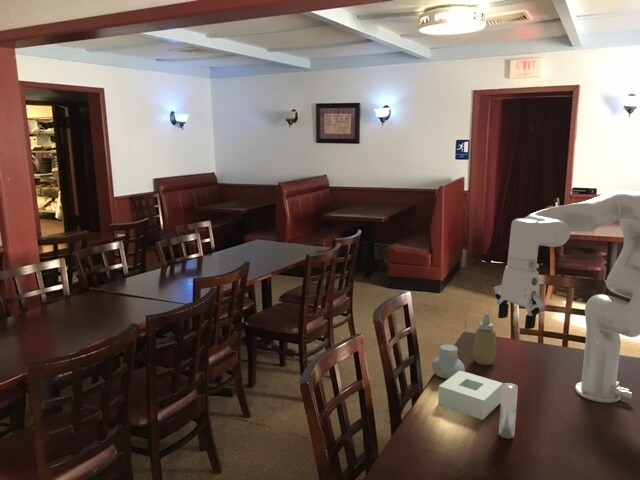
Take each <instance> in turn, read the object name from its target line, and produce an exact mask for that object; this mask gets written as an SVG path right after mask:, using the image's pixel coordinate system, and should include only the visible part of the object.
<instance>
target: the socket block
mask: <svg viewBox="0 0 640 480" xmlns="http://www.w3.org/2000/svg"><path fill="white" fill-rule="evenodd" d="M502 384H504V383H503V382H501V381H497V380H494V379H490V378H488V377H484V376H480V375H477V374H474V373H471V372H466V371H458V372H457V373H456V374H454V375H453V376H452V377H450V378H449V379H445V381H443V382H442V383H440V384H439V386H438V400H437V401H438V402H437V405H438V406H442V407H444V408H447V409H450V410H454V411H456V412H459V413H461V414H464V415H467V416H470V417H473V418H476V419H477V420H478V419H479V420H481V421H483V420H484V419H486V417H487V416H489V415H490V414H491V413H492V412H493V411H494V410H495V409H496V408H497V407H498V406H499V405H501V393H502Z"/></svg>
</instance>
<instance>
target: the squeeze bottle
mask: <svg viewBox="0 0 640 480" xmlns="http://www.w3.org/2000/svg"><path fill="white" fill-rule="evenodd" d="M496 336H497V335H496V330H495V329H494V324H493V323H492V322H491V320H490V314H489V313H487V312H485V313H484V316H483V320H482V321H481V322H479V325H478V328H476V330H475V336H474V341H473V346H472V347H473V348H472V354H473V358H474V361H475V363H477V364H479V365H482V366H491V365H492V364H493V363H494V361H495V358H496V356H497V339H496V338H497V337H496Z"/></svg>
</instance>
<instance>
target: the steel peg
mask: <svg viewBox="0 0 640 480" xmlns="http://www.w3.org/2000/svg"><path fill="white" fill-rule="evenodd" d="M518 392H519V387H518V385H517V384H514V383H511V382H504V383H503V384H502V393H501V403H500V412H499V424H498V425H499V426H498V435H499V436H500V437H501V438H504V439H514V437H515V432H516V431H515V430H516V419H517V405H518V404H517V403H518Z"/></svg>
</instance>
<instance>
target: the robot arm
mask: <svg viewBox="0 0 640 480" xmlns="http://www.w3.org/2000/svg"><path fill="white" fill-rule="evenodd" d="M618 221H619V225H620V229H621V231H622V236H623V246H622V249H621V250H620V251H621V252H620V253H619V255H618V256H617V259H616V261H615V262H614V264H613V267H612V268H611V270H610V271H609V274H608V275H607V277H606V281H605V284H606V288H607V289H608V291H610V292H612V293H613V294H615V295H616V294H617V295H619V296H621V297H624V298H627V299H629V302H628V301H627V300H624V299H621V298H618V297H615V296H611V295H608V294H600V293H599V294H595V295H592V296H591V297H590V298H589V299H588V300H587V302H586V303H585V307H584V316H585V323H586V330H585V331H586V332H585V334H586V335H585V344H584V354H583V361H582V362H583V363H582V364H583V365H582V372H581V373H582V374H581V381H580V382H578V383H576V384H575V388H574V389H575V392H576V394H578V395H580V396H581V397H583V398H584V399H587V400H590V401H593V402H598V403H605V404H612V403H613V404H614V403H616V402H618V401H620V400H621V398H622V397H624V398H626V399H630V400H631V399H632V394H633V393H632V392H631V391H630V389H629V388H626V387H621V386H620V385H619V384H620V381H617V380H618V371H619V370H618V369H619V362H620V353H621V344H622V341H621V335H622V336H625V337H628V338H636V337H639V336H640V191H633V190H626V189H615V190H612V191H609V192H606V193H603V194H600V195H597V196H595V197H592V198H590V199H588V200H585V201H580V202H576V203H575V202H574V203H569V204H564V205H558V206H557V205H556V206H552V207H548V208H544V209H541V210H538V211H536V212H533V213H530V214H528V215H527V216H525V217H523V218H515V219H513V220H512V222H511V224H510V225H511V226H510V233H509V235H510V236H509V246H508V255H507V265H505V268H504V272H503V275H502V280H501V284H499V285H496V286H494V287H493V291H494V293H495V298H496V300H497V305H498V315H497V318H498V319H504V318H508V315H509V308H510V307H509V306H510V305H509V302H510V303H512V304H515V305H517V306H520V307H523V308H525V311H526V313H527V314H526V315H525V321H524V329H525V330H531V329H535V326H536V319H537V316H538V315H539V314H540V313H541V312H542V311H543V309H544V308H545V306H546V304H547V303H546V301H545V300H543V298H542V297H541V296H540V291H541V290H540V288H541V287H540V275H539V270H537V269H539V266H540V264H539V263H537V262H538V256H539V255H538V254H539V247H540V246H544V247H552V248H554V247H555V248H556V247H562V246H563V245H565V244H566V243H567V242H568V240H569V239H570V237H571V232H572V231H573V232H574V231H576V232H585V231H593V230H594V231H595V230H597V229H600V228H602V227H604V226H607V225H609V224H612V223H614V222H618Z"/></svg>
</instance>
